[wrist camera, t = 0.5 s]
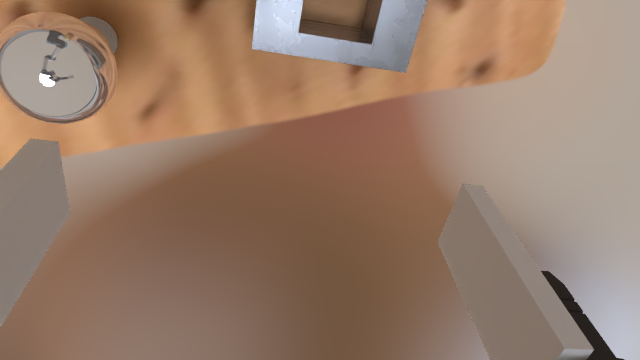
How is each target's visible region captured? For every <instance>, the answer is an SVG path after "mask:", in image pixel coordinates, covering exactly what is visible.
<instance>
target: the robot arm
mask: <svg viewBox="0 0 640 360" xmlns="http://www.w3.org/2000/svg"><path fill="white" fill-rule="evenodd" d="M69 214H70V210H69V204H68V198H67V192H66V186H65V180H64V174H63V168H62V162H61V155H60V149H59V143H58V141H48V140H39V139H30V140H29V141H28V142H27V143H26V144H25V145H24V146H23V147H22V148H21V149H20V150H19V152H18V153H17V154H16V155H15V156H14V157H13V158H12V159H11V160H10V161H9V162H8V163H7V164H6V165H5V166H4V168H3V169H2V170H1V171H0V327H1V326H2V324H3V322H4V320H5V319H6V317H7V316H8V314H9V312H10V311H11V309H12V308H13V306H14V304H15V303H16V301H17V299H18V298H19V296H20V294H21V293H22V291H23V289H24V288H25V286H26V285H27V283H28V281H29V280H30V278H31V276H32V275H33V273H34V272H35V270H36V268H37V266H38V265H39V263H40V262H41V260H42V258H43V257H44V255H45V254H46V252H47V250H48V249H49V247H50V245H51V244H52V242H53V240H54V239H55V237H56V236H57V234H58V232H59V230H60V229H61V227H62V226H63V224H64V222H65V221H66V219H67V217H68V216H69ZM438 244H439V246H440V249H441V251H442V253H443V255H444V258H445V260H446V262H447V264H448V266H449V269H450V271H451V273H452V275H453V278H454V280H455V282H456V284H457V286H458V289H459V291H460V293H461V295H462V298H463V300H464V302H465V304H466V306H467V309H468V311H469V313H470V315H471V317H472V320H473V322H474V324H475V327H476V329H477V331H478V333H479V335H480V338H481V340H482V342H483V344H484V347H485V349H486V351H487V353H488V355H489V358H490V360H624V359H619V358H616V357H615V355H614V354H613V352H612V351H611V350H610V348H609V347H608V346H607V344H606V343H605V341H604V340H603V338H602V337H601V336H600V334H599V333H598V331H597V330H596V329H595V327H594V326H593V324H592V323H591V322H590V321H589V319H588V318H587V316H586V315H585V314H583V311H582V309H581V308H580V306H579V305H578V303H577V302H574V298H573V297H572V295H571V294H570V292H569V291H568V289H567V288H566V287H565V285H564V284H563V283H562V282H560V281H559V280H558V279H557V278H556V277H555V276H553V275H552V274H551V273H550V272H549V271H540V270H539V268H538V267H537V265H536V264H535V262H534V261H533V259H532V258H531V256H530V255H529V253H528V252H527V250H526V249H525V247H524V246H523V244H522V243H521V241H520V240H519V238H518V237H517V236H516V234H515V233H514V231H513V230H512V228H511V227H510V225H509V224H508V222H507V221H506V219H505V218H504V217H503V215H502V214H501V212H500V211H499V209H498V208H497V206H496V205H495V203H494V202H493V200H492V199H491V197H490V196H489V194H488V193H487V191H486V190H485V189H484V187H483V186H480V185H471V184H462V186H461V189H460V191H459V194H458V196H457V198H456V201H455V203H454V205H453V208H452V210H451V212H450V215H449V217H448V220H447V222H446V224H445V226H444V229H443V231H442V233H441V236H440V238H439V241H438Z"/></svg>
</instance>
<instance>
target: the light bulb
mask: <svg viewBox="0 0 640 360" xmlns="http://www.w3.org/2000/svg"><path fill="white" fill-rule="evenodd" d="M117 46H118V39H117V35H116V33H115V31H114V29H113V28H112V27H111V26H110V25H109V24H108V23H107V22H105V21H104V20H102V19H100V18H97V17H91V16H88V17H82V18H80V19H78V18H76V17H74V16H71V15H67V14H64V13H58V12H49V11H44V12H34V13H31V14H27V15H24V16H21V17H19V18H17V19H15V20H14V21H12V22H11V23H9V24H8V25H7V26H6V27H5V28H4V29H3V30H2V31H1V32H0V92H1V93H2V95H3V96H4V98H5V99H6V100H7V101H8V102H9V103H10V104H11V105H12V106H14V107H15V108H16V109H18V110H19V111H20V112H22V113H24V114H25V115H27V116H29V117H31V118H34V119H36V120H39V121H43V122H47V123H56V124H69V123H76V122H79V121H82V120H85V119H88V118H90V117H92V116H94V115H96V114H97V113H98V112H99V111H100V110H101V109H103V108H104V107H105V106H106V105H107V104H108V102H109V101H110V99H111V98H112V96H113V93H114V91H115V88H116V85H117V77H118V74H117V64H116V60H115V57H114V53H115V51H116V49H117Z"/></svg>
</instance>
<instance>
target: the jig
mask: <svg viewBox="0 0 640 360" xmlns="http://www.w3.org/2000/svg"><path fill="white" fill-rule="evenodd" d="M426 2H427V0H368V4H367V9H366V13H365V18H364V22H363V27H362V29H359V28H353V27H347V26H341V25H335V24H329V23H323V22H317V21H311V20H305V19H300V18H301V11H302V5H303V0H257V2H256V12H255V22H254V32H253V42H252V49H255V50H261V51H268V52H274V53H281V54H287V55H294V56H301V57H307V58H314V59H320V60H327V61H333V62H340V63H346V64H353V65H360V66H366V67H373V68H379V69H386V70H392V71H399V72H405V73H406V71H407V67H408V64H409V60H410V57H411V54H412V50H413V47H414V43H415V40H416V37H417V33H418V30H419V26H420V23H421V19H422V16H423V13H424V9H425V6H426Z"/></svg>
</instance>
